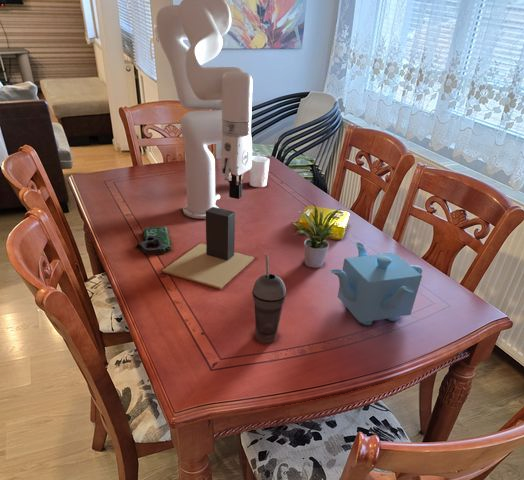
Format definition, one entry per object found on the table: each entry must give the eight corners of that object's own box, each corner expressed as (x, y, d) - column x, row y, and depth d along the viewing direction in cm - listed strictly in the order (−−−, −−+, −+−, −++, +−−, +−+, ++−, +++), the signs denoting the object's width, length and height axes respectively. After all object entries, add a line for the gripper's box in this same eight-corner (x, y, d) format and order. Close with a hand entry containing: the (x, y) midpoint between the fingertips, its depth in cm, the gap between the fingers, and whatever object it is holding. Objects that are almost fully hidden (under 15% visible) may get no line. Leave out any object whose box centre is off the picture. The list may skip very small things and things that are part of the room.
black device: (213, 249, 137) (213, 206, 129) (234, 255, 135) (235, 211, 127) (206, 254, 134) (205, 211, 126) (227, 260, 132) (228, 216, 124)
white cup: (267, 188, 184) (269, 162, 177) (247, 187, 183) (248, 161, 177) (267, 182, 190) (269, 156, 184) (248, 180, 190) (249, 155, 183)
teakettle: (415, 305, 120) (431, 252, 111) (399, 342, 107) (415, 286, 98) (345, 285, 126) (355, 234, 117) (321, 319, 112) (330, 264, 103)
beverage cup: (271, 350, 102) (278, 268, 89) (243, 338, 104) (246, 257, 92) (287, 334, 107) (296, 254, 94) (260, 323, 109) (265, 245, 97)
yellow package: (305, 216, 163) (307, 203, 160) (348, 223, 160) (350, 210, 157) (296, 233, 151) (297, 219, 148) (342, 241, 149) (344, 226, 146)
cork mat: (200, 244, 141) (200, 242, 140) (254, 259, 135) (254, 257, 135) (162, 272, 126) (162, 270, 126) (220, 289, 121) (220, 287, 120)
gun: (134, 227, 145) (167, 225, 147) (135, 231, 145) (167, 230, 148) (136, 250, 132) (172, 248, 134) (137, 255, 133) (172, 253, 135)
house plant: (313, 246, 144) (320, 194, 134) (348, 263, 137) (358, 208, 127) (281, 259, 136) (286, 205, 126) (317, 278, 128) (325, 221, 118)
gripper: (235, 135, 114) (234, 208, 125) (261, 124, 125) (258, 192, 136) (209, 130, 117) (210, 202, 128) (237, 120, 128) (235, 187, 139)
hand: (235, 197), depth 132 cm, fingers closed
